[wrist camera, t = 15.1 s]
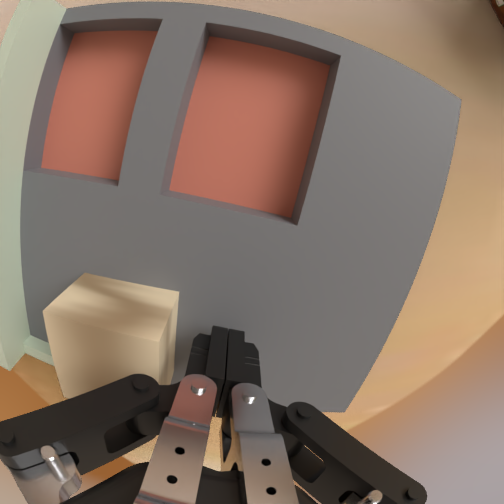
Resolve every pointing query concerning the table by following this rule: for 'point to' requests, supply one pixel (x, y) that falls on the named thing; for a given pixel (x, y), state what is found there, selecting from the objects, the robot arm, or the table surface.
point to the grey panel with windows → (218, 180)
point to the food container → (498, 9)
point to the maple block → (111, 333)
